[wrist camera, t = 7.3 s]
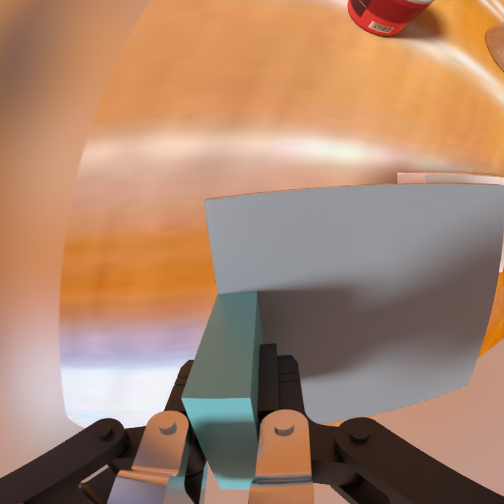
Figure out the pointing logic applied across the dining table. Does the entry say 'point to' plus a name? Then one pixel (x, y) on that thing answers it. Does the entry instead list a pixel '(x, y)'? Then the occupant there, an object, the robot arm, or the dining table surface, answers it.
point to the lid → (342, 303)
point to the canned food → (385, 14)
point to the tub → (451, 178)
